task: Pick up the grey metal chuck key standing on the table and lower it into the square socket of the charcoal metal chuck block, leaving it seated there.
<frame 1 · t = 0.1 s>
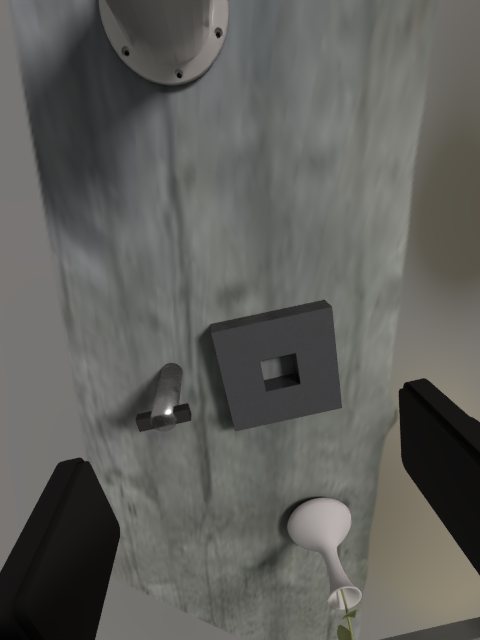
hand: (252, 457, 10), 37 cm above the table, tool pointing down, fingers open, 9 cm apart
flower in vase: (314, 517, 64), on the table
chuck block: (276, 362, 51), on the table
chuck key: (171, 372, 50), on the table
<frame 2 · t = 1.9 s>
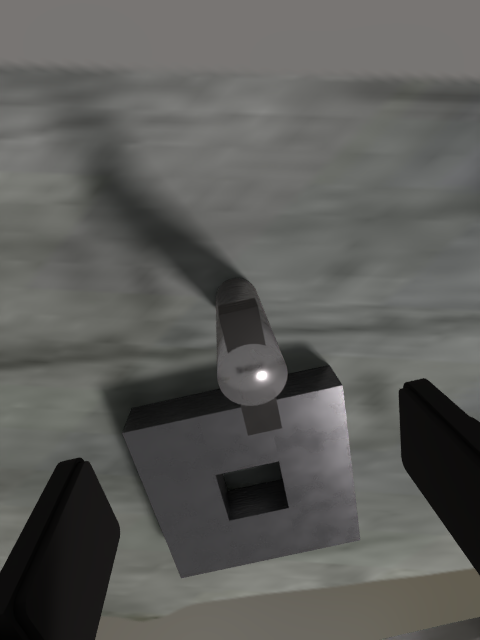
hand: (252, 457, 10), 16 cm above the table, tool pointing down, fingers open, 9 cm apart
chuck block: (249, 464, 31), on the table
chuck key: (236, 298, 25), on the table
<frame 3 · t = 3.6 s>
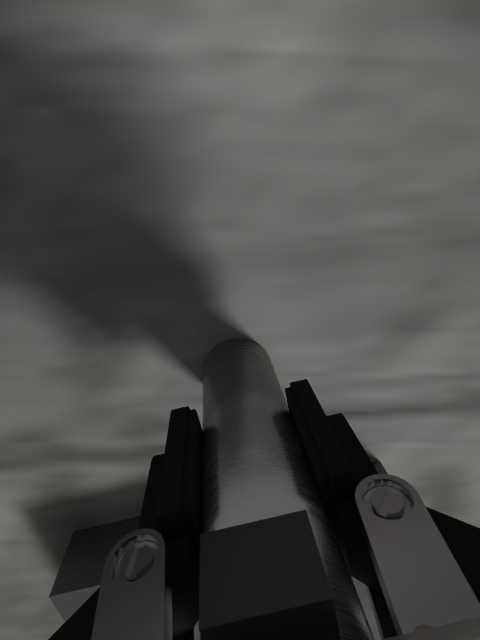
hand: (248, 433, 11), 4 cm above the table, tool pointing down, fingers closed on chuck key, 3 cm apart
chuck block: (256, 594, 21), on the table
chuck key: (237, 370, 15), on the table, touching gripper
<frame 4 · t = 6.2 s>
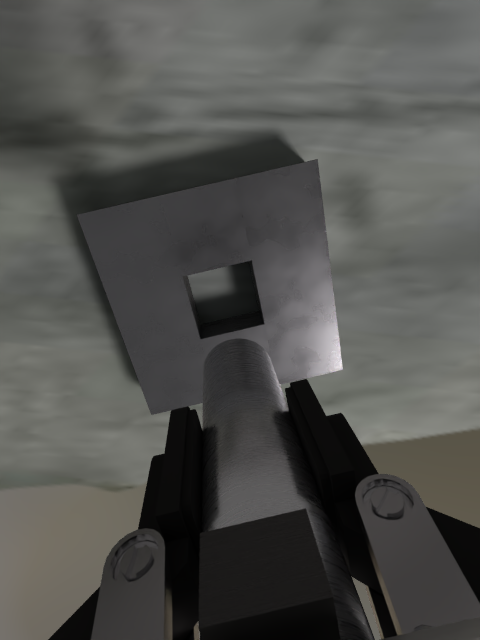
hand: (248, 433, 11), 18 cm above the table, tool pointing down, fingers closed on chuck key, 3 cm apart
chuck block: (223, 289, 29), on the table
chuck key: (237, 369, 15), point 14 cm above the table, touching gripper
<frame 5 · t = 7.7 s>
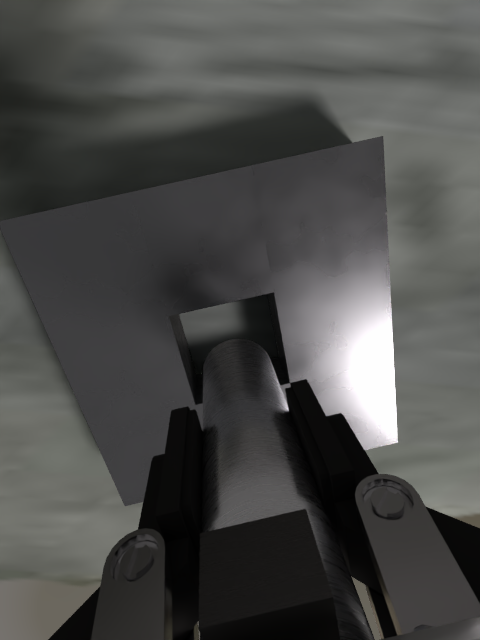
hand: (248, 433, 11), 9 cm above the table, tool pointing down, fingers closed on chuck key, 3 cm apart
chuck block: (228, 328, 20), on the table
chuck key: (237, 370, 15), point 5 cm above the table, touching gripper
when the fingers open (5 cm above the table, at t = 9.0 s): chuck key stays where it is, resting in chuck block.
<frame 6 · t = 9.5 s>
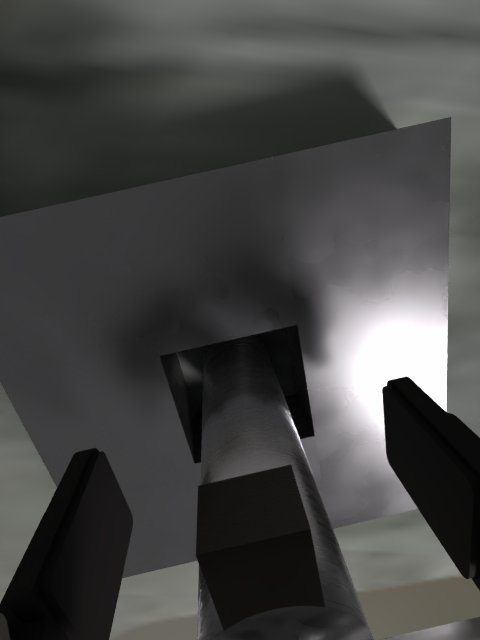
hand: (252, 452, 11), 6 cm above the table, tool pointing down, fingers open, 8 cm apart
chuck block: (236, 361, 16), on the table
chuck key: (236, 361, 16), resting in chuck block
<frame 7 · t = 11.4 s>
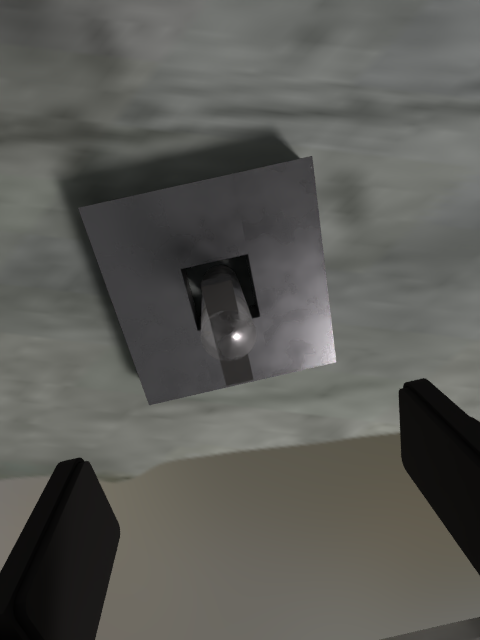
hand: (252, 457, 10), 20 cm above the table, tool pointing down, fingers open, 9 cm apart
chuck block: (220, 283, 29), on the table
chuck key: (220, 283, 29), resting in chuck block
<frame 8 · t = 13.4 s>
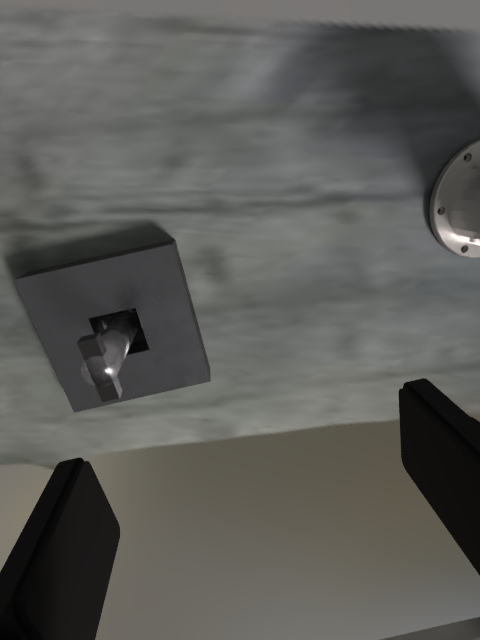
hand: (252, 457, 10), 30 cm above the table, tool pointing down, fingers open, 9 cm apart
chuck block: (125, 324, 40), on the table
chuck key: (125, 324, 40), resting in chuck block
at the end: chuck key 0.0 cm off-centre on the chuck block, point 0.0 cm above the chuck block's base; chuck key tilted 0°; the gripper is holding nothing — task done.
